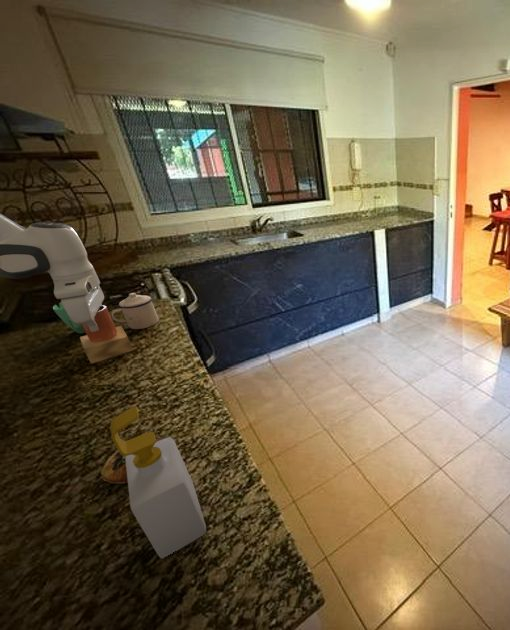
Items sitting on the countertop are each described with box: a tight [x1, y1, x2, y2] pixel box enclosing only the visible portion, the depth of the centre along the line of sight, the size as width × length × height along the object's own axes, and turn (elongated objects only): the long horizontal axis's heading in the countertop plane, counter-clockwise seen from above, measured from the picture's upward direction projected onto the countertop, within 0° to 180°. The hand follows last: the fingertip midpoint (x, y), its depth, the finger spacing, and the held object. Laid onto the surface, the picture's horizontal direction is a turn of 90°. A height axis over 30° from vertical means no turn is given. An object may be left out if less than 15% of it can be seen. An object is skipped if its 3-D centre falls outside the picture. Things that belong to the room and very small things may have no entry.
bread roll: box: [100, 434, 164, 485], centre depth 68 cm, size 11×11×5 cm
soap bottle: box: [110, 405, 207, 560], centre depth 53 cm, size 12×7×23 cm, turn 41°
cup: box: [81, 304, 118, 342], centre depth 102 cm, size 7×7×9 cm
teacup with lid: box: [110, 292, 160, 330], centre depth 118 cm, size 12×9×12 cm
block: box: [79, 325, 134, 364], centre depth 105 cm, size 10×10×5 cm
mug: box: [52, 301, 86, 334], centre depth 114 cm, size 15×10×10 cm
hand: (98, 324), depth 102 cm, fingers closed on cup, 7 cm apart
